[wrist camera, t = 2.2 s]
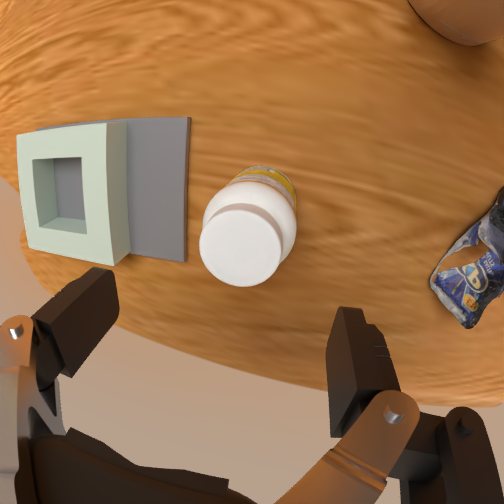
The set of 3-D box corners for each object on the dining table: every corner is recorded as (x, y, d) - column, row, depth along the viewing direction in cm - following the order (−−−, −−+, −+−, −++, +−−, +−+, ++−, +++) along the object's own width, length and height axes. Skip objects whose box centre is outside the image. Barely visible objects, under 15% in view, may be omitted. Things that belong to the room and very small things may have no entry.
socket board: (41, 128, 22) (15, 132, 19) (190, 117, 20) (171, 117, 17) (50, 235, 27) (28, 249, 24) (186, 258, 26) (170, 279, 22)
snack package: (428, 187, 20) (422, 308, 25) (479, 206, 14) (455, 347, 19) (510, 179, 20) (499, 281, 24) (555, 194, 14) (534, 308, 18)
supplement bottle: (260, 150, 21) (236, 169, 12) (311, 200, 22) (321, 252, 13) (214, 199, 23) (165, 248, 14) (262, 245, 24) (243, 315, 15)
